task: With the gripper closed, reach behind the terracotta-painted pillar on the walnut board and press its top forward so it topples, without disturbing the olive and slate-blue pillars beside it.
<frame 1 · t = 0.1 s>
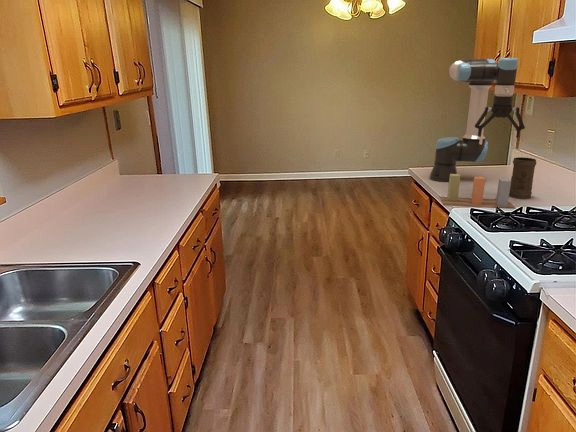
hand: (496, 144, 204), 28 cm above the worktop, fingers open, 13 cm apart
terracotta pillar: (476, 203, 211), point 1 cm above the worktop, touching walnut board
beer stein: (517, 197, 224), on the worktop
slate pillar: (501, 205, 206), point 1 cm above the worktop, touching walnut board
olive pillar: (452, 199, 216), point 1 cm above the worktop, touching walnut board
walnut board: (475, 204, 212), on the worktop
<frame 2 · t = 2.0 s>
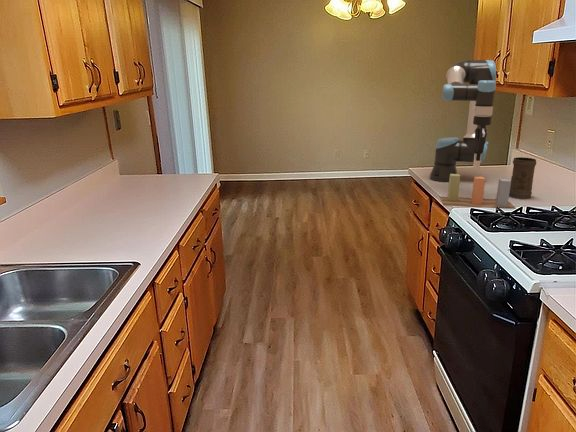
hand: (476, 167, 214), 16 cm above the worktop, fingers closed
nothing on the worktop moved.
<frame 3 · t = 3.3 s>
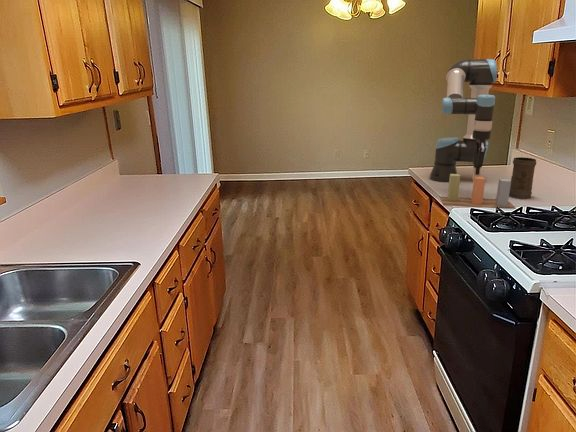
hand: (475, 180, 214), 10 cm above the worktop, fingers closed
nothing on the worktop moved.
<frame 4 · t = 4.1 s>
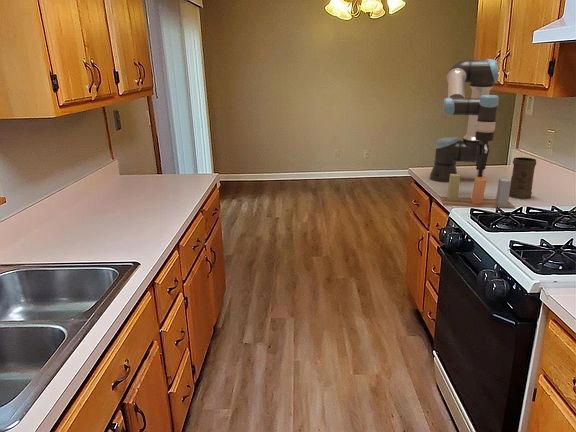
hand: (478, 183, 209), 10 cm above the worktop, fingers closed
terracotta pillar: (476, 202, 211), point 2 cm above the worktop, tilted 11°, touching gripper, walnut board
everything else where it was.
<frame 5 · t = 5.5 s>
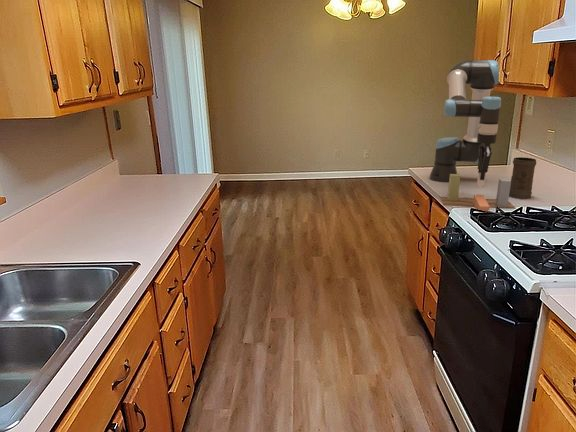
hand: (480, 186, 205), 10 cm above the worktop, fingers closed
terracotta pillar: (478, 198, 208), point 4 cm above the worktop, tilted 99°, touching walnut board
everything else where it was.
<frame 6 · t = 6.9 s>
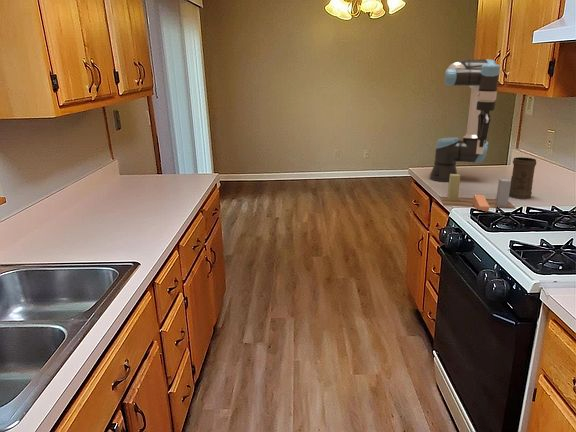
hand: (479, 153, 210), 23 cm above the worktop, fingers closed
nothing on the worktop moved.
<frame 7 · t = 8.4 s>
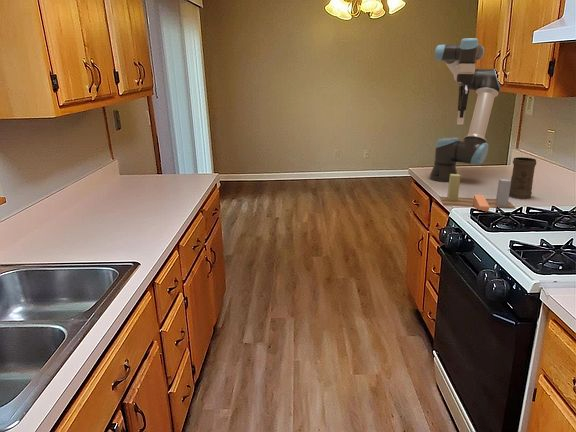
hand: (460, 124, 222), 34 cm above the worktop, fingers closed
nothing on the worktop moved.
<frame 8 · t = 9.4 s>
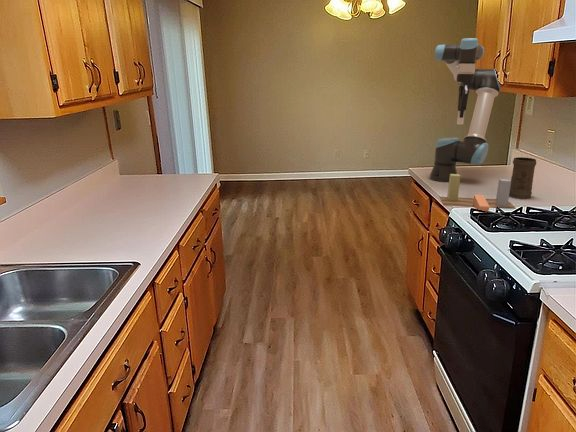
hand: (460, 124, 222), 34 cm above the worktop, fingers closed
nothing on the worktop moved.
at the end: terracotta pillar tilted 99°; olive pillar tilted 0°; slate pillar tilted 0° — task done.
